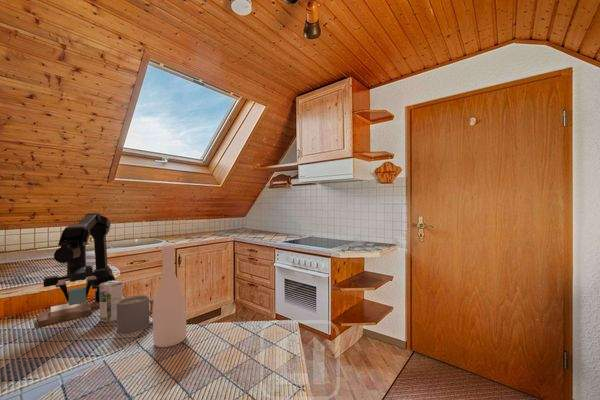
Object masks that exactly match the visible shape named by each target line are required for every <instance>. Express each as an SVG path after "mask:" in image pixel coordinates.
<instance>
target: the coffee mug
mask: <svg viewBox="0 0 600 400" xmlns="http://www.w3.org/2000/svg"><path fill="white" fill-rule="evenodd" d="M154 299H155V298H150V297H149V295H145V294H139V295H132V296H128V297H124V298H123V299H121V300H119V301H117V320H116V333H118V334H122V335H125V334H133V333H137V332H140V331H143V330H145V329H147V328H148V327H149V326H150V316H151V315H153V309H152V307H153V302H154ZM150 304H151V307H150Z"/></svg>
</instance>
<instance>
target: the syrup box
mask: <svg viewBox="0 0 600 400" xmlns="http://www.w3.org/2000/svg"><path fill="white" fill-rule="evenodd" d="M123 286H124V285H123V281H121V280H119V281H118V280H116V281H107V282H104V283H101V284H100V302H99V322H103V323H104V322H105V323H112V322H114V321H117V301H119V300H121V299H124V298H123V297H124V296H123V294H124V293H123V291H124V290H123Z"/></svg>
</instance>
